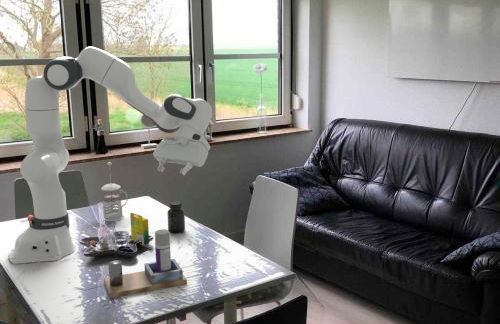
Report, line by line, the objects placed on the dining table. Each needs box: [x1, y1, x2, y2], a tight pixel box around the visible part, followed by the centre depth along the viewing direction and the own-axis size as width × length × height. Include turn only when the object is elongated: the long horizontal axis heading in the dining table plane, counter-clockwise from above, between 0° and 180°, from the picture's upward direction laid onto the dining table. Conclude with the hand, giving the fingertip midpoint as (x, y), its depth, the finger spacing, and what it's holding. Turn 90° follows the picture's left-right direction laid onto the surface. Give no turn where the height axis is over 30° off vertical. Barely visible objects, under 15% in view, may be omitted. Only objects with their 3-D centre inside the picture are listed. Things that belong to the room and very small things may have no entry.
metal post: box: [107, 259, 124, 287], centre depth 166 cm, size 4×4×7 cm
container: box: [154, 229, 172, 273], centre depth 171 cm, size 5×5×15 cm
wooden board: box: [103, 258, 188, 299], centre depth 170 cm, size 24×12×4 cm, turn 113°
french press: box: [101, 161, 128, 222], centre depth 231 cm, size 10×12×25 cm
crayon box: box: [129, 212, 150, 246], centre depth 204 cm, size 7×3×12 cm, turn 50°
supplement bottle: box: [167, 201, 186, 235], centre depth 215 cm, size 7×7×12 cm
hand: (170, 172), depth 182 cm, fingers open, 8 cm apart
